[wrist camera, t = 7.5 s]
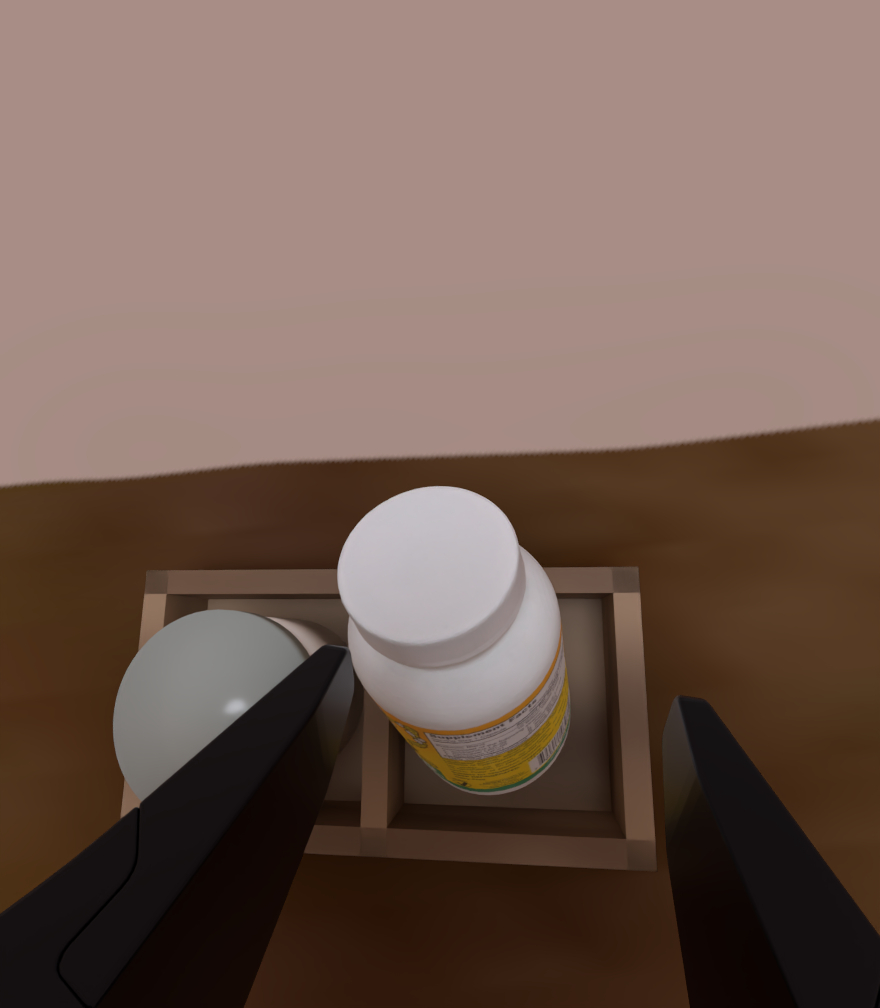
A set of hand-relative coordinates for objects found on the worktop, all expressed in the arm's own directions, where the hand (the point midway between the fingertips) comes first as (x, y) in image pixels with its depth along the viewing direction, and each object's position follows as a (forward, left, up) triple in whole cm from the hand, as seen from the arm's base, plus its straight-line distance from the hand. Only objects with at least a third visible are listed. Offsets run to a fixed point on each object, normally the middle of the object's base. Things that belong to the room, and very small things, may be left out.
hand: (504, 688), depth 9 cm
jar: (-1, +8, -13) cm, 15 cm away
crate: (-1, +4, -13) cm, 14 cm away
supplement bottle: (-2, +1, -12) cm, 12 cm away
